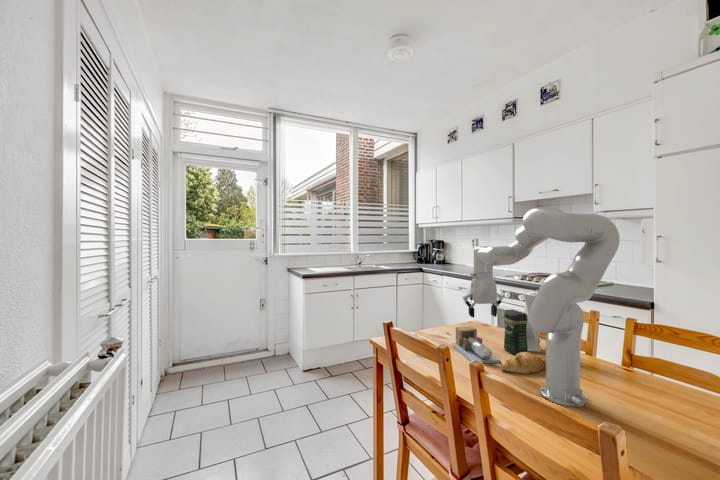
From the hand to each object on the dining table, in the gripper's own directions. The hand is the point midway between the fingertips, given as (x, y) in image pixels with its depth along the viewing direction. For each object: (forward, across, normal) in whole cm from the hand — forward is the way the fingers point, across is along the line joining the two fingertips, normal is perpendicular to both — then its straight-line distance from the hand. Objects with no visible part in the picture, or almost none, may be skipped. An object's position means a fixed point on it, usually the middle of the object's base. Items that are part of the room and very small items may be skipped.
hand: (482, 316), depth 135 cm
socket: (+18, 0, +16) cm, 24 cm away
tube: (+17, 0, +4) cm, 18 cm away
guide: (+18, 0, +9) cm, 20 cm away
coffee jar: (+19, +19, +7) cm, 27 cm away
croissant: (+19, +12, -10) cm, 25 cm away
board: (+19, 0, +7) cm, 20 cm away
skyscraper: (+19, +28, +8) cm, 34 cm away
